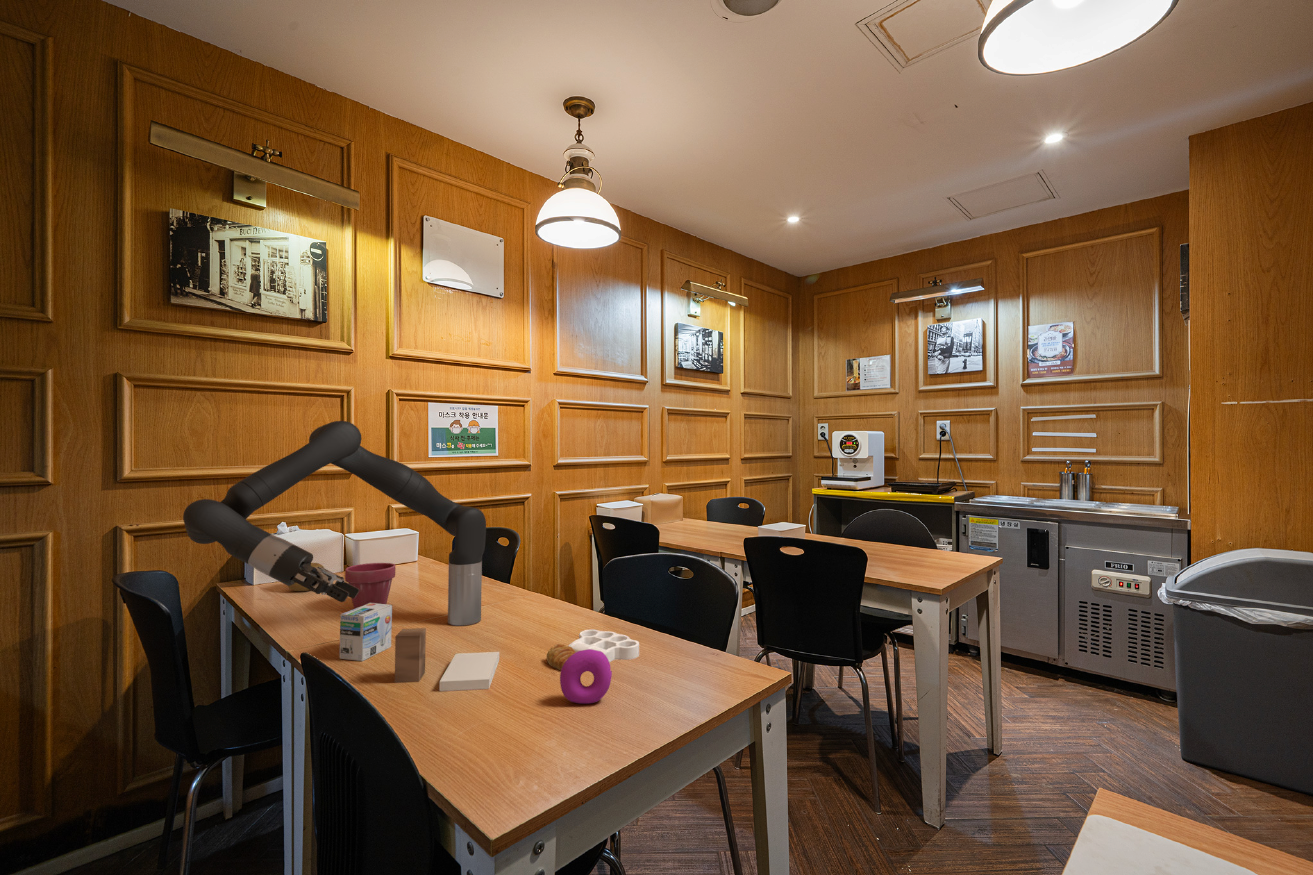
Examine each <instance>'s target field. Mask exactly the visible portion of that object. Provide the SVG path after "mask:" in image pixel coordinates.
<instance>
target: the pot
mask: <svg viewBox="0 0 1313 875" xmlns="http://www.w3.org/2000/svg"><path fill="white" fill-rule="evenodd" d="M311 566H312V567H318V566H319V567H323V568H324V569H326V568H325V567H324V565H323V564H321V563H318V562H311ZM286 586H287V588H289V590H291V591H294V592H308V591H310V590H309V589H307V588H305V587H303V586H302V585H300V584H298V583H294V584H293V585H290V586H288V585H286Z"/></svg>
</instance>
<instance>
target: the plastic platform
mask: <svg viewBox="0 0 1313 875" xmlns="http://www.w3.org/2000/svg"><path fill="white" fill-rule="evenodd" d="M499 661H500V651H489V652H487V651H485V652H464V653H463V652H461V653H458V652H457V653H455V655H454V657H453V658H452V659H451V661H450V662H449V664H448V666H447V668H446V670H445V672H444V674H443V675H442V677H441V678H440V680H439V692H448V691H449V692H453V691H471V690H472V691H473V690H475V691H476V690H489V689H490V687H491V684H492V682H493V678H494V677H495V674H496V671H497V668H498V665H499Z"/></svg>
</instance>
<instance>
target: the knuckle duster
mask: <svg viewBox="0 0 1313 875" xmlns="http://www.w3.org/2000/svg"><path fill="white" fill-rule="evenodd" d="M568 646H569V647H572V648H573V649H574V650H575V652H578V651H582V650H587V649H592V650H597V651H601V652H603V653H604V654H605V655H606V657H607V658H608V660H609V663H611V662H612V661H617V660H622V661H624V660H625V661H626V660H628V661H629V660H635V659H637V658H638V657H639V656H640V641H638V640H635V639H631V638H630V636H628V635H625V634H621V633H617V632H615V631H608V630H607V631H605V630H598V629H585V630H582V631H580V633H579V634H578V639H575V640H573V641H572V642H570V644H568Z"/></svg>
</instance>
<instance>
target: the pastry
mask: <svg viewBox="0 0 1313 875" xmlns="http://www.w3.org/2000/svg"><path fill="white" fill-rule="evenodd" d="M574 653H576V652H575V650H574V649H573V648H572V647H569V645H566V644H564V643H560V644H559V643H558V644H556V645H554V646H552V647H550V649H549V650H548V651H547V654H546V661H547V664H549V666H551V667H552V668H554V669H556V670H559V671H561V669H562V667H563V665H564V663H565V662H566V660H567V659H568V658H569V657H570V656H572V655H573V654H574Z"/></svg>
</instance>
